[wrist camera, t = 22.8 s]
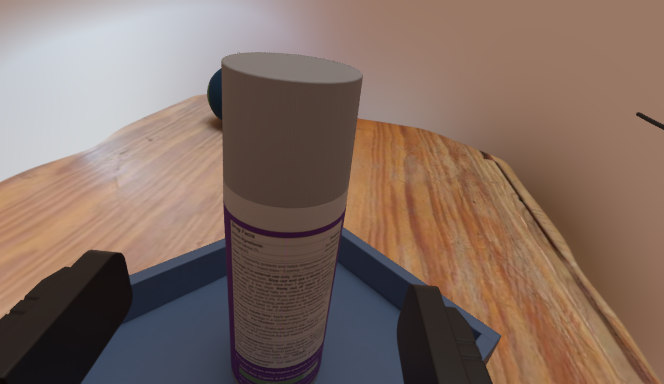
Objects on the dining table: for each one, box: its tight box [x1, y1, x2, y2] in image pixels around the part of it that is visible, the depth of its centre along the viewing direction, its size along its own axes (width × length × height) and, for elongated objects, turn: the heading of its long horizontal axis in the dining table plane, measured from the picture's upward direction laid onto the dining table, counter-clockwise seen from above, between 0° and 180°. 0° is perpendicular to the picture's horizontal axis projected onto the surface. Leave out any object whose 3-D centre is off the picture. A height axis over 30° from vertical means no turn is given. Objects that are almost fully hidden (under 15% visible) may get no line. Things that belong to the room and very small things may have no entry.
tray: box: [81, 227, 501, 384], centre depth 18 cm, size 18×16×3 cm
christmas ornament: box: [207, 68, 222, 120], centre depth 48 cm, size 8×8×10 cm
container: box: [221, 52, 363, 384], centre depth 15 cm, size 5×5×15 cm
